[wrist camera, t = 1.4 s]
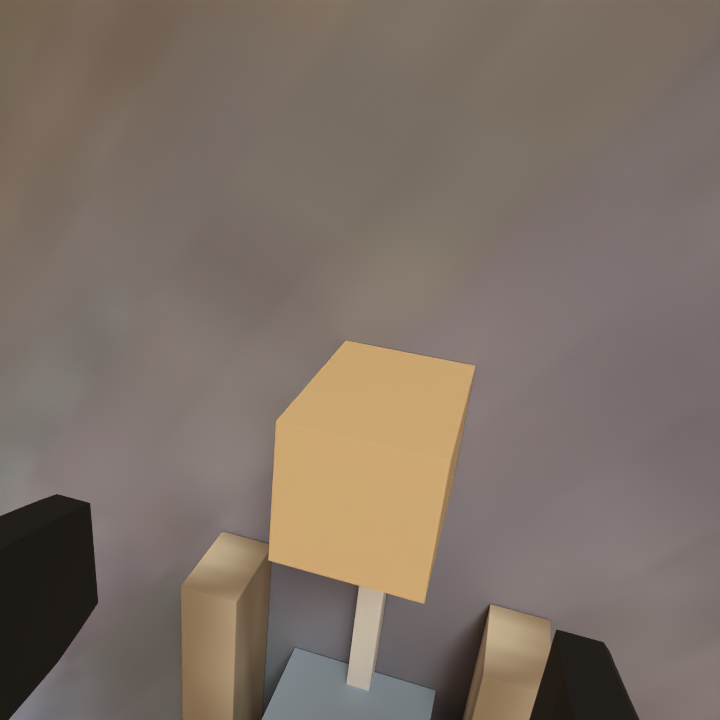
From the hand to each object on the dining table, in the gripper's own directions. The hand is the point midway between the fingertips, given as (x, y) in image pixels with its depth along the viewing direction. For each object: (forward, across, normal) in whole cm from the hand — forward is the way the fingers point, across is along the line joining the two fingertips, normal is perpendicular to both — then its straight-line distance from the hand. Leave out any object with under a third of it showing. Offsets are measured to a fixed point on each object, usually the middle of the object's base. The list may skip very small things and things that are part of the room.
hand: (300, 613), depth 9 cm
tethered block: (+7, 0, +6) cm, 9 cm away
